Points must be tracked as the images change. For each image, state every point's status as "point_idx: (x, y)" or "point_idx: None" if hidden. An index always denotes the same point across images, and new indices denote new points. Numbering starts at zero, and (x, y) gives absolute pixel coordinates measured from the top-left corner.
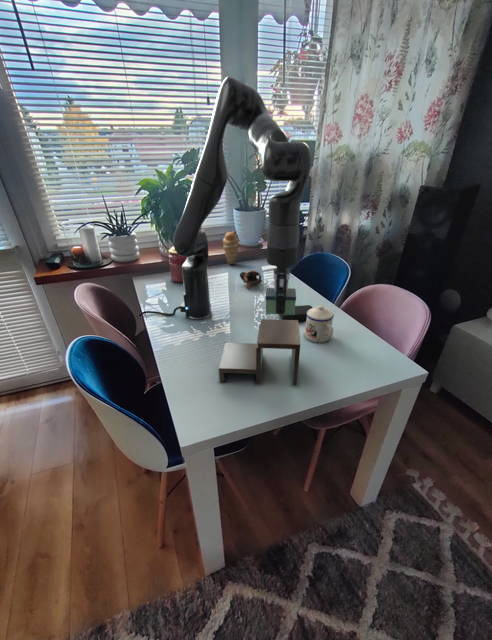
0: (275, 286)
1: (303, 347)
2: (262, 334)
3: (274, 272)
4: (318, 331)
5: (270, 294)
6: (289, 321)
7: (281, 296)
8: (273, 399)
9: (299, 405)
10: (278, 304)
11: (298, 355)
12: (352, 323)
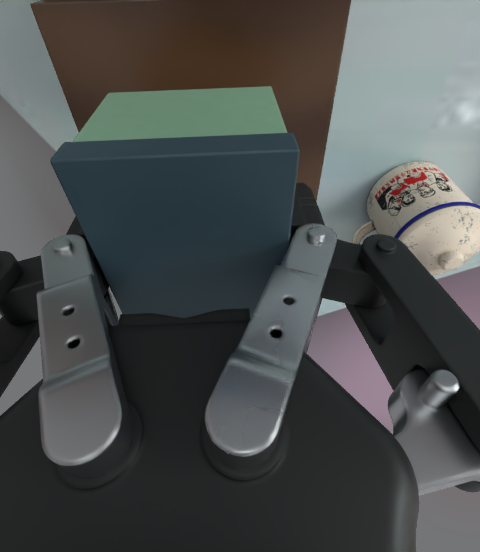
0: (43, 322)
1: (349, 153)
2: (144, 26)
3: (65, 466)
4: (381, 215)
5: (120, 203)
6: (304, 172)
7: (5, 313)
8: (46, 55)
9: (58, 139)
10: (71, 234)
11: None
12: (443, 274)
